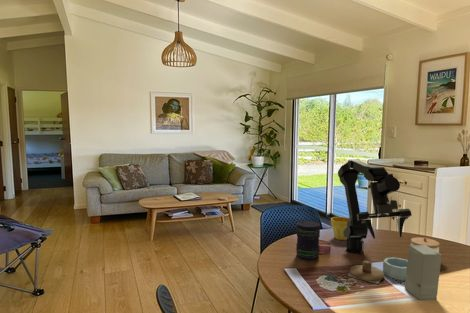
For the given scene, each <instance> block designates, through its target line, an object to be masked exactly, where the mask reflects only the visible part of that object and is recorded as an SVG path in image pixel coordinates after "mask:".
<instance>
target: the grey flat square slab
mask: <svg viewBox="0 0 470 313" xmlns="http://www.w3.org/2000/svg"><path fill="white" fill-rule="evenodd" d="M383 273H384V272H383ZM384 276H386V274H385V273H384ZM347 277H350V278H354V279H357V280H360V281H361V280H362V279H359V278H356V277H354V276H353V275H352V274H351V273H350V272H349V273H348V274H347ZM362 281H366V282H368V283H372V284H377V285H379V284H380V282H381V281H382V280H378V281H367V280H362Z"/></svg>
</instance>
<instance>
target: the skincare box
mask: <svg viewBox="0 0 470 313" xmlns="http://www.w3.org/2000/svg"><path fill="white" fill-rule="evenodd" d="M407 255H408V256H407V260H408V262H407V270H406V279H405V280H404V289H405V290H406V291H408V292H409V293H410V294H412V296H413V297H415V298H417V299H418V300H420V301H421V300H422V301H423V300H424V301H426V300H428V301H429V300H437V299H438V297H437V296H438V289H439V281H440V280H439V279H440V273H441V266H442V257H443V254H441V253H440V252H439V253H438V252H436V251H435V250H434V249H431V248H430V247H428V246H426V245H411V244H410V245H409V246H408V254H407Z"/></svg>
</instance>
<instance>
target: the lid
mask: <svg viewBox="0 0 470 313" xmlns="http://www.w3.org/2000/svg"><path fill="white" fill-rule="evenodd" d="M372 264H373V263H372V262H371V261H369V260H363V261H362V264H356V265H352V266H351V267H350V268H349V273H351V274H352V275H353V276H354V277H356V278H355V279H357V278H359V279H358V280H361V279H362V281H364V280H367V281H366V282H368V281H378V280H381V281H382V280H383V279H384V278H385V275H384V273H383V270H381V269H380V268H377V267H375V266H373V265H372Z"/></svg>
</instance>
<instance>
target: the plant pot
mask: <svg viewBox="0 0 470 313" xmlns="http://www.w3.org/2000/svg"><path fill="white" fill-rule="evenodd" d="M348 219H349V217H346V216H333V217H331V218H330V226H331V227H332V231H333V237H334V239H336V240H340V241H344V240H345V241H347V238H346V237H345V236H344V230H345V229H346V227H347V221H348Z"/></svg>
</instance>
